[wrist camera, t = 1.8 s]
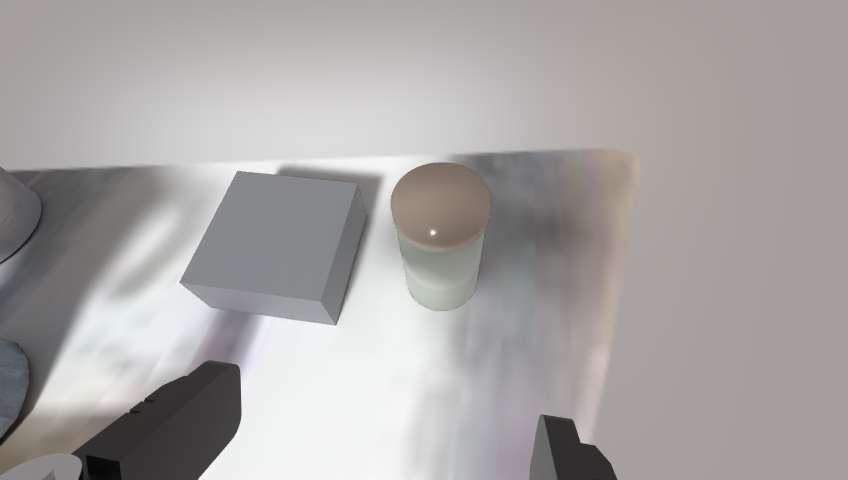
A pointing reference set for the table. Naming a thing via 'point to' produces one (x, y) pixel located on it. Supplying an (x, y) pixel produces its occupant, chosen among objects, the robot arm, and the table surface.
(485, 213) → the canister
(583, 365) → the table surface
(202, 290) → the stand
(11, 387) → the moka pot
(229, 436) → the robot arm
